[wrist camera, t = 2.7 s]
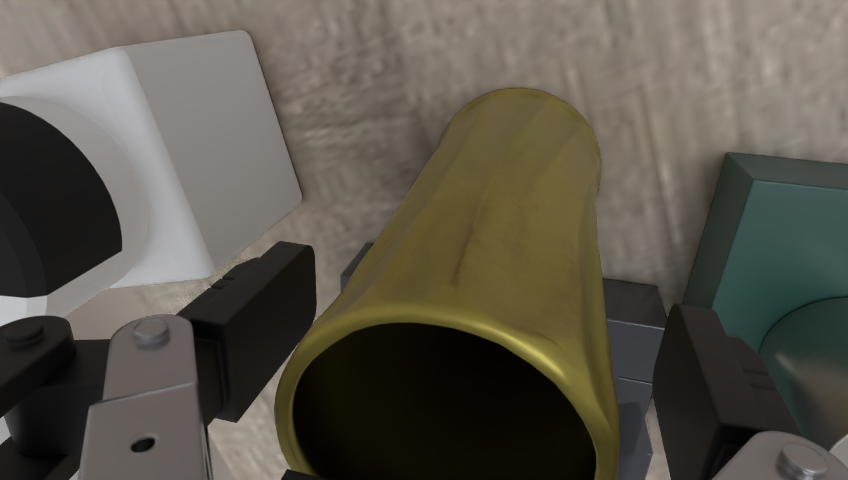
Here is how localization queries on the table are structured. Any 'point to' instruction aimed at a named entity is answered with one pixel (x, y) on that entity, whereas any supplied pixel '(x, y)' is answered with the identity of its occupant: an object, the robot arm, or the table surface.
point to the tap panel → (771, 243)
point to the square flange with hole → (621, 362)
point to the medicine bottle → (135, 170)
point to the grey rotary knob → (813, 371)
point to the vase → (470, 318)
